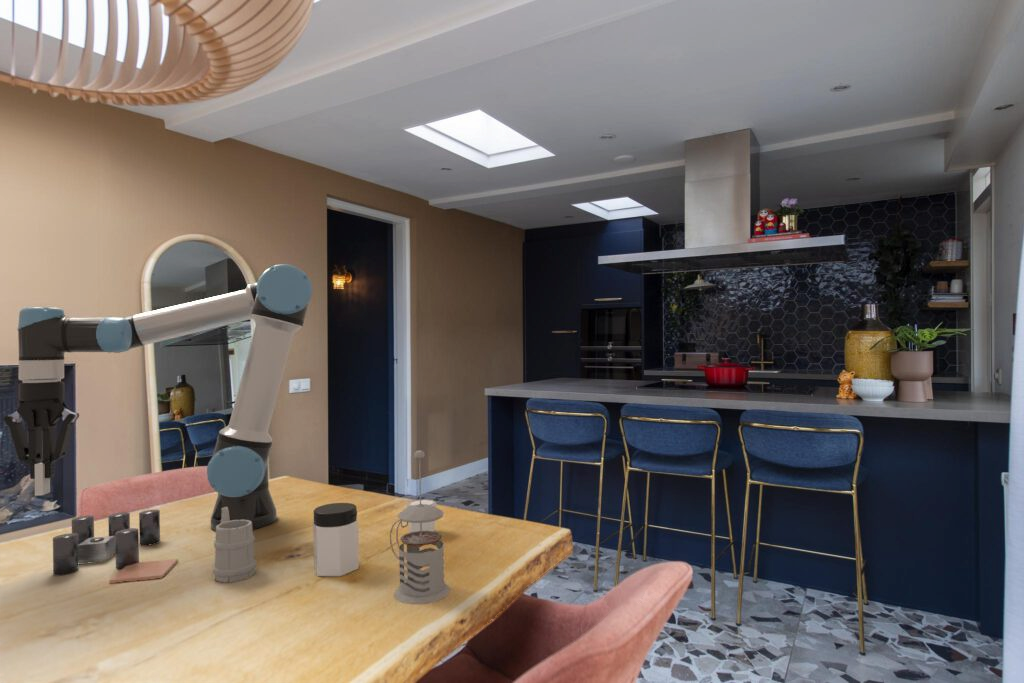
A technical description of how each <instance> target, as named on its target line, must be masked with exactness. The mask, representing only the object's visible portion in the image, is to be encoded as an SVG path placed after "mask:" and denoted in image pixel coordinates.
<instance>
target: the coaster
mask: <svg viewBox="0 0 1024 683" xmlns="http://www.w3.org/2000/svg"><path fill="white" fill-rule="evenodd" d="M177 563H179V560H178V558H173V559H172V558H171V559H162V560H151V561H139V563H135V564H132V565H128V566H126V567H124V568H123V569H120V571H119V572H118V573H115V575H114V576H113V577H112V578H110V579H109V584H117V583H116V582H120V583H124V582H123V581H130V582H138V581H137V580H140V581H146V580H147V581H148V579H150V580H156V579H155V578H160V579H163V578H164V577H165V576H166V575H167V574H168V573H169V572H170V571H171V570H172V569H173V568H174V566H175V565H176V564H177ZM169 570H170V571H169ZM168 571H169V572H168ZM166 573H167V574H166ZM165 574H166V575H165ZM163 576H164V577H163Z"/></svg>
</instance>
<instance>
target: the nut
mask: <svg viewBox="0 0 1024 683" xmlns="http://www.w3.org/2000/svg"><path fill="white" fill-rule="evenodd" d="M114 553H115V536H109V535H108V536H97V537H96V536H94V537H93V538H88V539H87V540H85V541H84V542H82V543H80V544H79V545H78V563H84V564H89V563H88V562H95V563H101V562H100V561H105V562H107V561H108V560H109V559H110V558H112V557H113V556H114V555H115V554H114ZM113 554H114V555H113ZM112 555H113V556H112ZM111 556H112V557H111ZM109 557H110V558H109ZM108 558H109V559H108ZM107 559H108V560H107ZM106 560H107V561H106Z"/></svg>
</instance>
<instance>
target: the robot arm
mask: <svg viewBox="0 0 1024 683" xmlns="http://www.w3.org/2000/svg"><path fill="white" fill-rule="evenodd" d="M312 296H313V285H312V282H311V279H310V278H309V276H308V275H307V274H306V273H305V272H304V271H303V269H300V268H299V267H297V266H295V265H293V264H292V265H291V264H288V263H287V264H284V263H281V264H275V265H273V266H271V267H269V268H267V269H266V270H264V272H262V274H260V276H259V278H258V280H257V281H256V282H255V283H250V284H247V286H246V288H245V289H241V290H237V291H233V292H229V293H224V294H221V295H216V296H212V297H207V298H204V299H199V300H194V301H191V302H185V303H180V304H177V305H172V306H168V307H164V308H159V309H156V310H151V311H147V312H142V313H138V314H133V315H129V316H124V317H115V316H106V317H105V316H104V317H103V316H102V317H99V316H98V317H97V316H93V317H90V316H89V317H71V316H66V315H65V311H64V309H63V308H61V307H60V308H59V307H49V306H48V307H43V306H35V307H33V306H28V307H24V308H22V309H21V310H20V311H19V314H18V327H17V335H18V336H17V338H18V380H19V381H22V382H20V383H19V384H18V401H19V403H18V406H17V407H16V411H14V412H13V413H11V414H9V415H5V416H4V417H3V421H4V423H6V425H7V426H8V427H9V430H10V434H11V437H12V441H13V445H14V448H15V451H16V454H17V455H16V456H17V458H18V461H20V462H26V463H28V464H29V477H30V479H31V480H34V496H35V497H37V496H45V495H47V494H49V493H51V479H52V478H54V477H55V475H56V473H55V472H56V468H55V463H56V462H57V461H58V460H59V459H63V458H65V457H66V455H67V450H68V447H69V443H70V439H71V436H72V432H73V428H74V425H75V423H76V422H77V420H78V419H79V418H80V413H78V412H73V411H71V410H70V409H68V408H67V405H66V403H65V382H64V381H62V380H63V379H65V353H108V354H110V353H114V354H115V353H116V354H117V353H119V354H120V353H125V352H128V351H130V350H132V349H135V348H139V347H142V346H146V345H150V344H155V343H158V342H163V341H167V340H170V339H171V340H172V339H175V338H179V337H183V336H188V335H191V334H195V333H200V332H203V331H208V330H213V329H216V328H220V327H221V328H222V327H224V326H228V325H232V324H237V323H240V322H244V321H249V320H252V319H253V321H254V323H255V326H254V330H253V333H252V337H251V341H250V344H249V348H248V352H247V356H246V360H245V363H244V366H243V370H242V375H241V378H240V382H239V385H238V389H237V393H236V397H235V400H234V403H233V409H232V412H231V414H230V415H231V416H230V419H229V422H228V425H227V426H225V427H224V428H221V429H219V432H218V435H217V438H216V443H215V447H214V449H213V453H212V457H211V458H210V459H209V461H208V463H207V466H206V476H207V481H208V483H209V485H210V487H211V488H212V489H213V490H214V491H215V492H216V493H217V499H216V502H215V503H214V506H213V510H212V512H211V515H210V529H211V530H213V531H215V532H216V526H217V525H219V524H220V523H221V515H222V511H221V508H224V507H228V510H229V518H230V521H232V520H250V521H251V522H252V530H255V529H259V528H263V527H266V526H268V525H271V524H273V523H274V522H276V521H277V517H278V516H277V508H276V505H275V503H274V500H273V497H272V495H271V492H270V489H269V488H270V487H269V485H270V484H269V457H270V452H271V448H272V444H273V440H274V439H273V437H272V436H271V435H270V433H269V429H270V425H271V421H272V418H273V414H274V412H275V411H274V410H275V407H276V402H277V398H278V396H279V391H280V387H281V384H282V379H283V375H284V372H285V368H286V364H287V361H288V358H289V353H290V349H291V346H292V342H293V339H294V334H295V333H296V332H297V331H299V330H300V329H303V327H304V321H305V319H306V314H307V311H308V306H309V303H310V301H311V298H312ZM60 418H61V419H62V422H61V425H60V428H59V433H58V436H57V432H56V430H57V427H58V421H59V420H60ZM22 421H24V422H25V423H26V430H27V432H28V437H27V434H26V430H25V426H24V424H23V422H22ZM56 438H57V439H56Z"/></svg>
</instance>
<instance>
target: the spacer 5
mask: <svg viewBox="0 0 1024 683" xmlns="http://www.w3.org/2000/svg"><path fill="white" fill-rule="evenodd" d="M160 511H161V510H160V509H147V510H143V511H140V512H139V513H138V520H139V521H138V525H139V526H138V532H139V545H140V544H141V545H140V546H142V545H146V546H150V545H149V544H153V545H155V544H154V543H156V544H158V543H157V542H159V541H160V542H161V518H160V517H161V516H160V514H161V513H160ZM160 542H159V543H160Z"/></svg>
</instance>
